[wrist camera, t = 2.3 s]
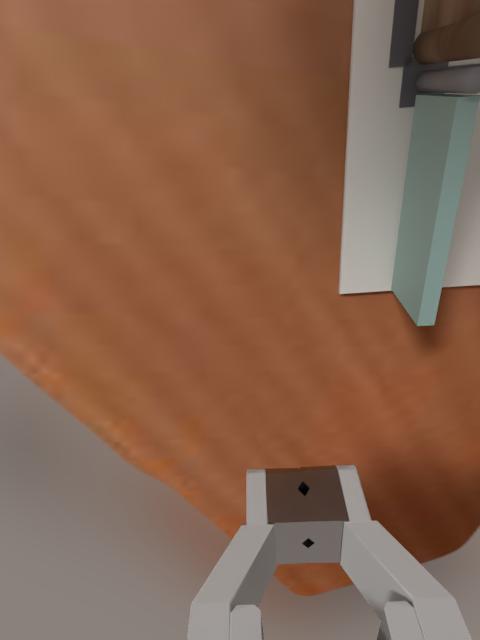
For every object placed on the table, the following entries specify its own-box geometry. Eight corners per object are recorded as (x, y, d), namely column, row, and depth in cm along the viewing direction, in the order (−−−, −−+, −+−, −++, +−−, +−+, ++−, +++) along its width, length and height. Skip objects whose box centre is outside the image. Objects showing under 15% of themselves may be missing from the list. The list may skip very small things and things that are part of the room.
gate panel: (417, 71, 21) (467, 67, 17) (436, 69, 21) (491, 65, 16) (390, 287, 28) (419, 329, 23) (404, 286, 28) (437, 328, 23)
